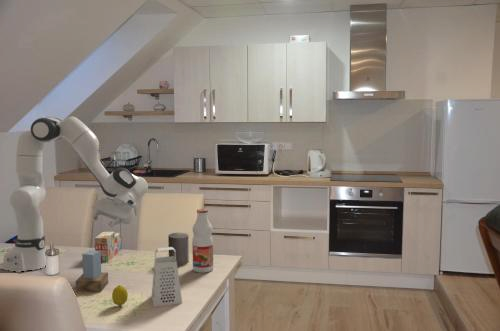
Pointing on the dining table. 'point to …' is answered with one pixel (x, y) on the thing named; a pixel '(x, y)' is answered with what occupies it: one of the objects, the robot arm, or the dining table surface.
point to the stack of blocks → (108, 245)
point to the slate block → (91, 264)
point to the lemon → (119, 295)
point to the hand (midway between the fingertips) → (101, 222)
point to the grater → (165, 280)
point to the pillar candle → (179, 247)
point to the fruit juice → (202, 243)
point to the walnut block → (92, 283)
